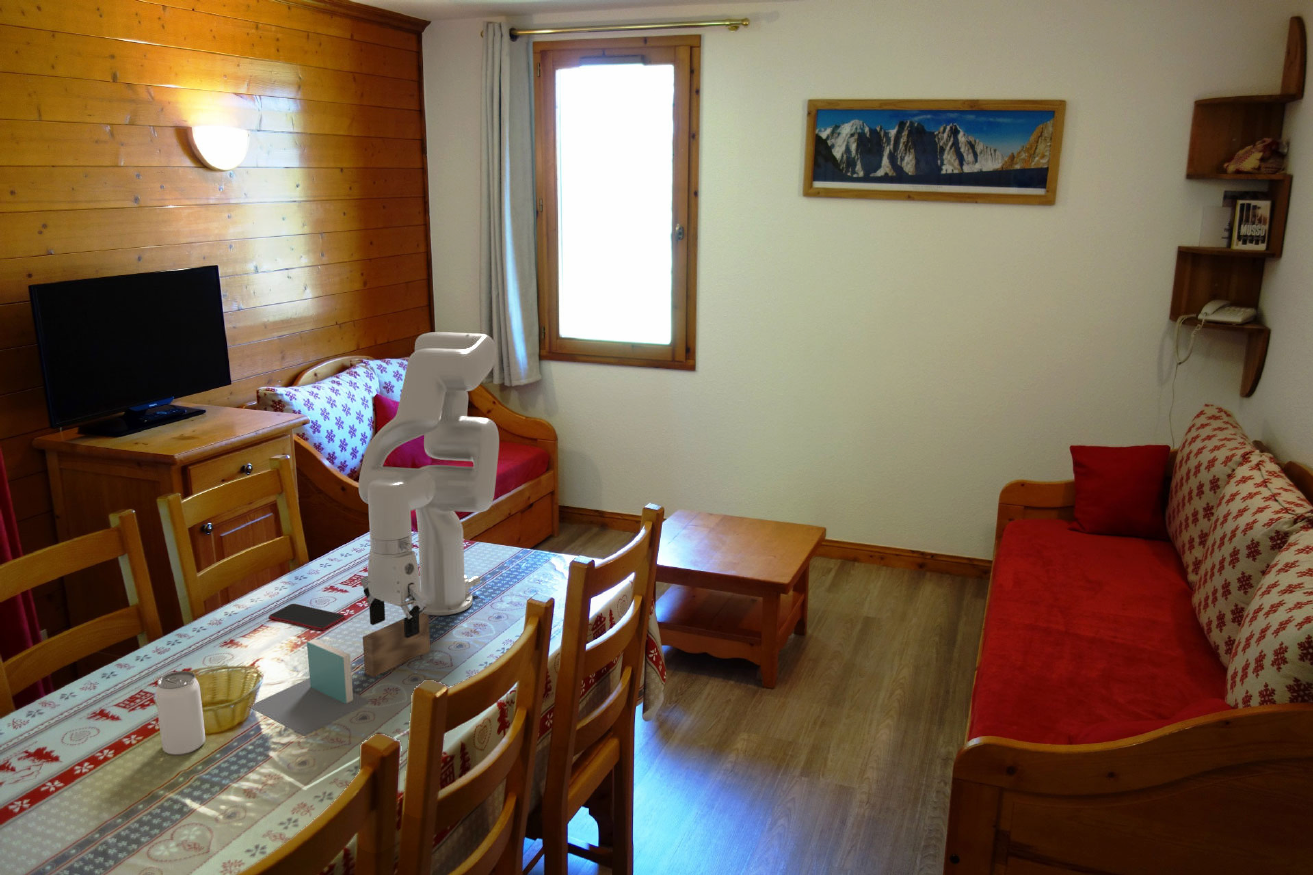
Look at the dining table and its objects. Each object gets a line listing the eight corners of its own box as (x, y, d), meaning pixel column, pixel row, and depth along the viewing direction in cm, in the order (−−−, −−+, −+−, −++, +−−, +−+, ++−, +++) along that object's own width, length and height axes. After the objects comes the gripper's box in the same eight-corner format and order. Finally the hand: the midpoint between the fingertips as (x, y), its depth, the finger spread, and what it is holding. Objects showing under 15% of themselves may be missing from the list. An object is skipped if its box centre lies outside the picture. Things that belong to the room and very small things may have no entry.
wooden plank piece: (421, 648, 198) (419, 611, 195) (430, 651, 196) (428, 614, 194) (365, 675, 186) (362, 636, 184) (373, 679, 185) (371, 640, 183)
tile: (317, 683, 182) (314, 638, 180) (353, 699, 177) (349, 654, 174) (310, 686, 181) (306, 641, 179) (345, 703, 175) (342, 657, 173)
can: (177, 760, 158) (169, 693, 155) (154, 748, 162) (145, 682, 159) (214, 742, 164) (206, 676, 161) (190, 730, 167) (182, 665, 164)
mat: (315, 676, 185) (315, 675, 185) (371, 703, 176) (371, 701, 176) (248, 708, 174) (248, 706, 174) (304, 737, 165) (304, 735, 165)
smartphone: (292, 602, 216) (346, 615, 210) (292, 606, 216) (347, 619, 210) (267, 615, 209) (322, 628, 204) (267, 619, 210) (322, 632, 204)
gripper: (438, 547, 183) (441, 633, 187) (376, 529, 192) (380, 612, 196) (407, 558, 177) (410, 647, 181) (344, 539, 186) (349, 624, 190)
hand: (394, 628), depth 188 cm, fingers open, 9 cm apart
